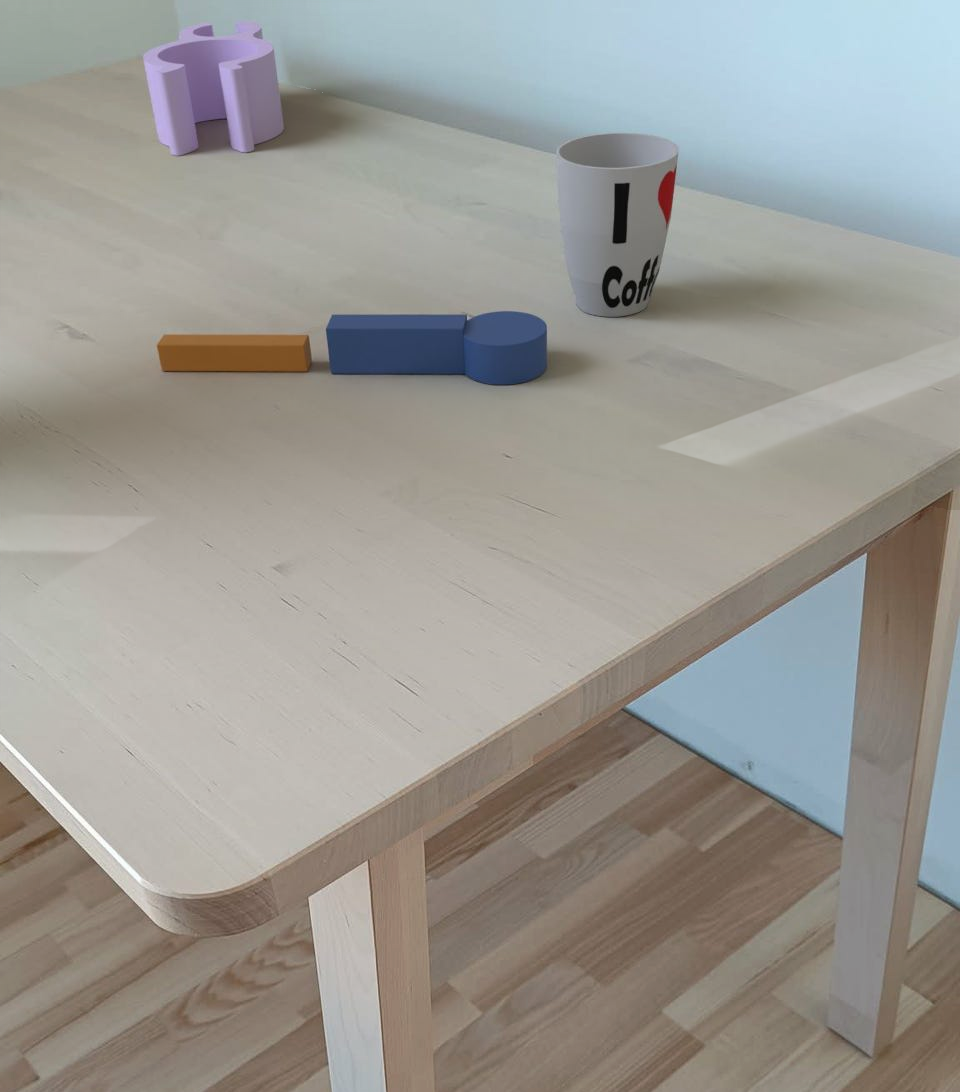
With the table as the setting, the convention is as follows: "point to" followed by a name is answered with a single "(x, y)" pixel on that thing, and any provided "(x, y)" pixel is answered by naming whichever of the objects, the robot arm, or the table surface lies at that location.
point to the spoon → (440, 345)
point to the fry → (234, 352)
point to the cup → (615, 217)
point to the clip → (215, 86)
